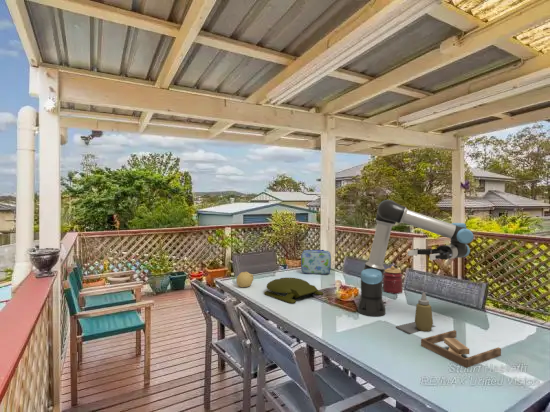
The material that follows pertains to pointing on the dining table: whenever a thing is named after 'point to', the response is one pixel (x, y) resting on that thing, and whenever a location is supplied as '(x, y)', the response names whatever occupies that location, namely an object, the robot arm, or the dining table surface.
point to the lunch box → (316, 262)
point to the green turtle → (290, 289)
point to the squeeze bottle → (423, 314)
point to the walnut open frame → (454, 357)
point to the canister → (392, 280)
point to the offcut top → (456, 346)
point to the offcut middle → (454, 351)
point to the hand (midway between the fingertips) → (418, 255)
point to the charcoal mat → (409, 328)
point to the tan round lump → (244, 279)
